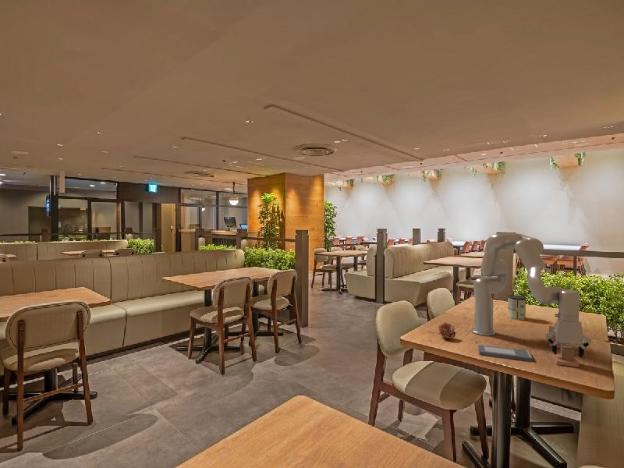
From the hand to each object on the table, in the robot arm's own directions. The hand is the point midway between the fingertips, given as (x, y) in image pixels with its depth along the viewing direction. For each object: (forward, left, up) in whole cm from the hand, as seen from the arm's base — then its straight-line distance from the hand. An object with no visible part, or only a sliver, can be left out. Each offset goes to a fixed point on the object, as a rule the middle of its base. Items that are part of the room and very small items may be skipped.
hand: (567, 355), depth 162 cm
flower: (-14, -51, -4) cm, 53 cm away
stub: (0, -1, -3) cm, 3 cm away
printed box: (-22, +1, -4) cm, 22 cm away
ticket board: (0, -25, -3) cm, 26 cm away
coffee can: (-75, -10, -4) cm, 76 cm away
